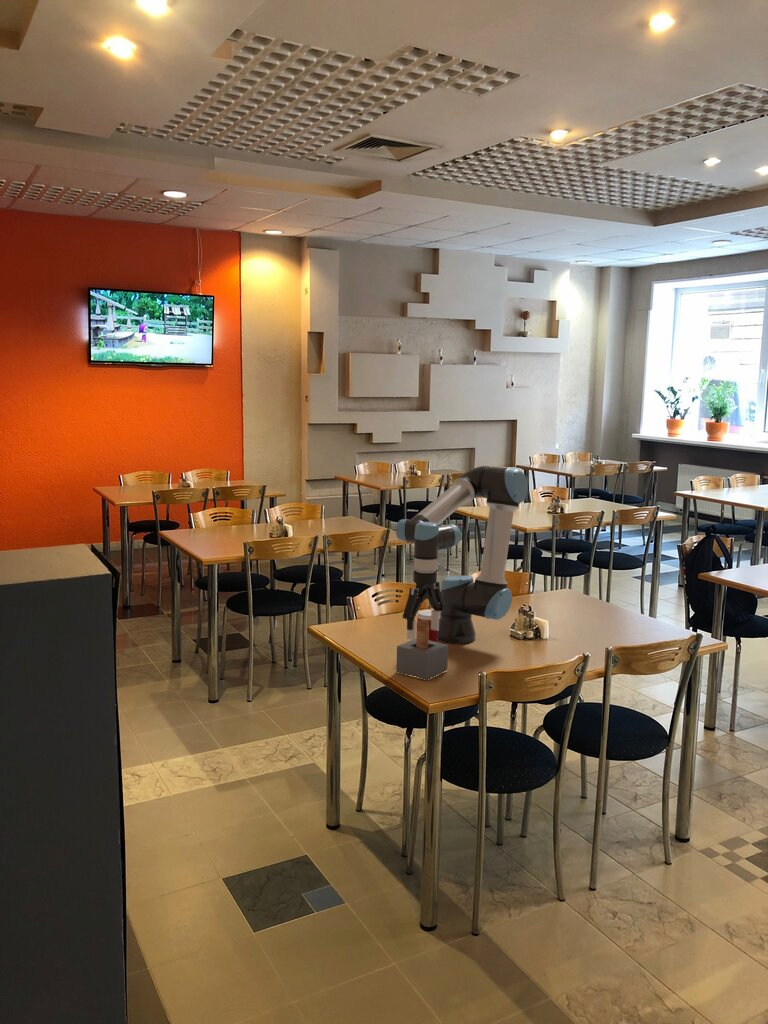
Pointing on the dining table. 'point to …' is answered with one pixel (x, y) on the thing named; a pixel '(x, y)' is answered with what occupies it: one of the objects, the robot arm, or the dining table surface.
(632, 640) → the dining table surface
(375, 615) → the dining table surface
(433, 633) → the coffee cup
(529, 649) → the dining table surface
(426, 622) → the pin
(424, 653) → the socket block
